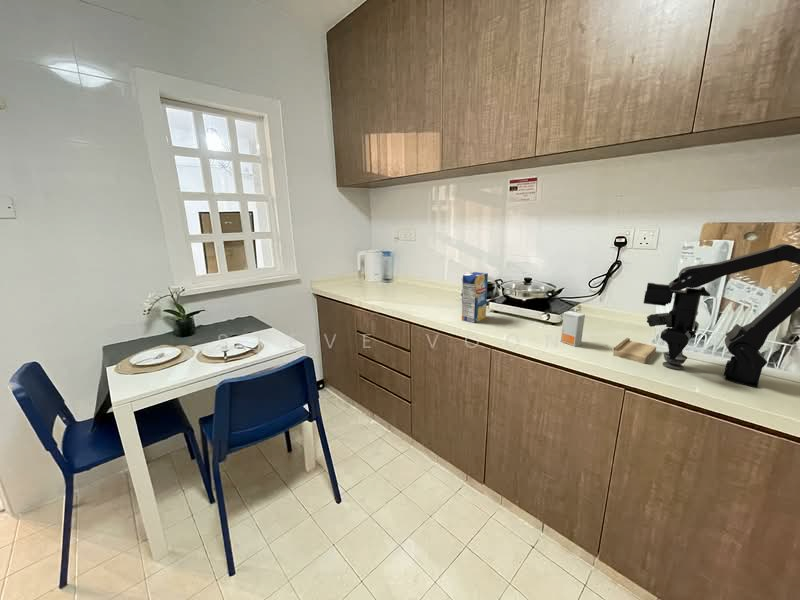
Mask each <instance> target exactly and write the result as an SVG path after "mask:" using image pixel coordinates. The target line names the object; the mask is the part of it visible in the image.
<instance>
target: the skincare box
mask: <svg viewBox="0 0 800 600" xmlns="http://www.w3.org/2000/svg"><path fill="white" fill-rule="evenodd" d="M562 318H563V319H562V324H561V325H562V326H561V333H560V340H559V341H560V342H561V343H564V344H567V345H570V346H572V347H577V346H580V345H581V344H582V338H583V331H584V324H585V318H586V315H585V314H584V313H580V312H575V311H571V310H569V311H565V312H563V317H562Z"/></svg>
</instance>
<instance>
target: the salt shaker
mask: <svg viewBox="0 0 800 600" xmlns="http://www.w3.org/2000/svg"><path fill="white" fill-rule="evenodd" d="M683 351H684V349H683V350H682V351H681V352H680V354H679V355H678V356H677V357H676V359H675V360H672V359H670V356H669V351H664V352H663V353H662V354H663V357H664V360H665V361H663V362H662V365H663V367H666V368H668V369H672V370H677V371H678V370H679V371H680V370H681V371H682V370H684V369H685V367H684V366H683V365H682V364H684V363H685V362H686V360H687V359H688V356H686V355H684V353H683Z"/></svg>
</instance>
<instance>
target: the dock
mask: <svg viewBox="0 0 800 600" xmlns="http://www.w3.org/2000/svg"><path fill="white" fill-rule="evenodd" d="M630 339H631V338H629V337H626V338H625V339H623V340H621V342H619V343H618V344H617V345H616V346H614V347H613V351H612V353H613V354H612V356H613V357H618V358H622V359H626V360H630V361H633V362H637V363H640V364H646V363H647V361H649V359H651V357H652V356H653V355H654V354H656V351H657V346H655V345H650V344H646V343H643V342H637V341H632V340H630Z"/></svg>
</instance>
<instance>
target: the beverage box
mask: <svg viewBox="0 0 800 600" xmlns="http://www.w3.org/2000/svg"><path fill="white" fill-rule="evenodd" d="M488 278H489V275H488V273H486V272H477V271H474V272H469V273H464V274H462V292H461V293H462V295H461V296H462V297H461V300H462V301H461V321H463V322H468V323H471V324H475V323H478V322H480V321H482V320H484V319H486V318H487V317H486V316H487V297H488V296H487V294H488Z"/></svg>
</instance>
